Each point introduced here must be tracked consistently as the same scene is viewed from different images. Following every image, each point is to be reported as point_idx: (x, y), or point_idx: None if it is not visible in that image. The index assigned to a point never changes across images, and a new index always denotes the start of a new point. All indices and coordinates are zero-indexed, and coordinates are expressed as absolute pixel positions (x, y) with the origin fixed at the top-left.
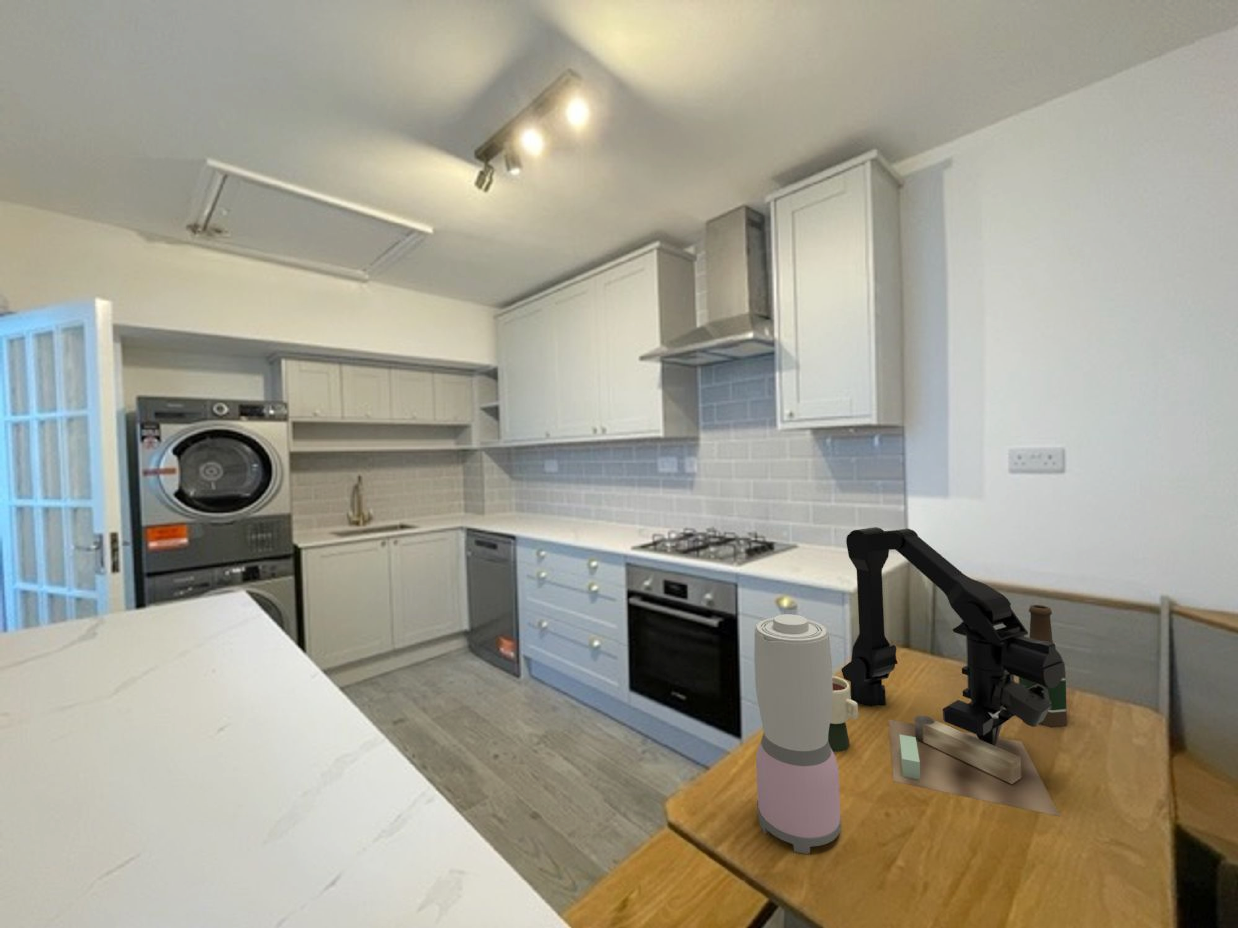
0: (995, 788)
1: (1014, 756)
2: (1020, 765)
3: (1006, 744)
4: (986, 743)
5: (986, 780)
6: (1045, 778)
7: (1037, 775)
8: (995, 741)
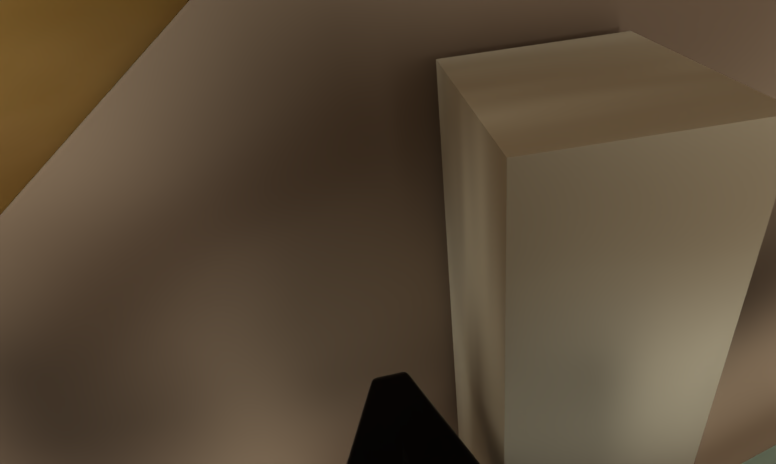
0: (771, 68)
1: (570, 198)
2: (479, 106)
3: (19, 418)
4: (524, 460)
5: None
6: (39, 29)
7: (197, 23)
8: (381, 462)
